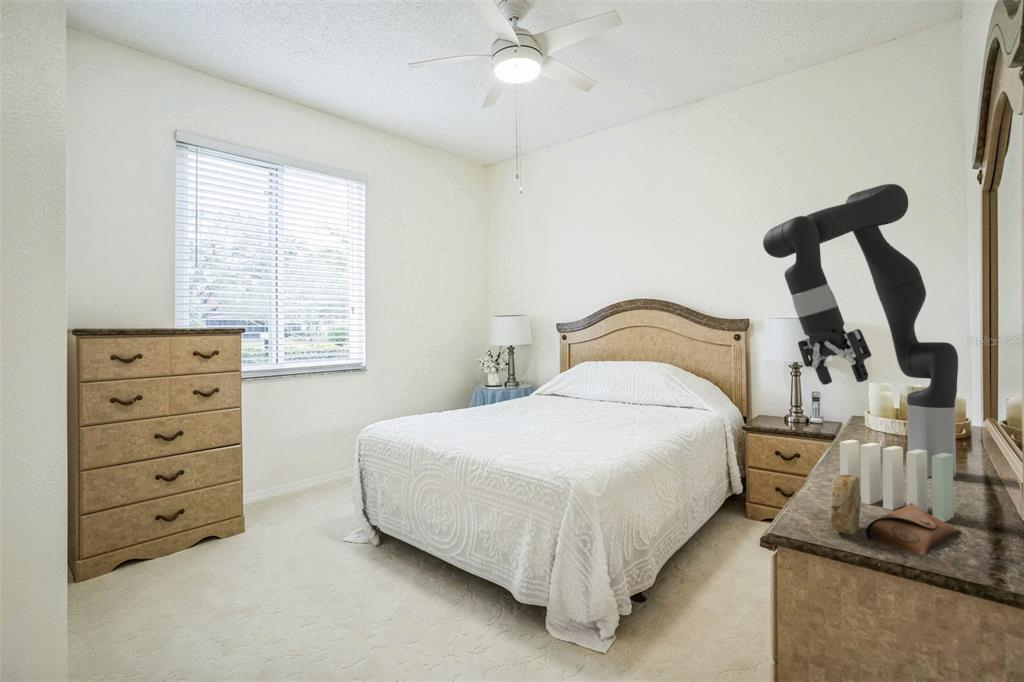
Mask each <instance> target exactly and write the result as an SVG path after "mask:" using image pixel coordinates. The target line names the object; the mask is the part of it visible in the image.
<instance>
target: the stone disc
mask: <svg viewBox="0 0 1024 682" xmlns="http://www.w3.org/2000/svg"><path fill="white" fill-rule="evenodd" d="M830 491H831V494H830V506H829V507H830V508H829V519H830V520H829V521H830V525H831V528H832V530H834V531H837V532H840V533H843V534H845V535H852V536H853V535H855V534H856V533H857V532H858V530H859V526H860V515H861V482H860V483H859V478H858V477H856V476H853V475H840V474H839V475H838V476H836V477H835V478H833V480H832V481H831V490H830Z"/></svg>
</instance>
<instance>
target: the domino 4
mask: <svg viewBox="0 0 1024 682" xmlns="http://www.w3.org/2000/svg"><path fill="white" fill-rule="evenodd" d="M905 453H906V454H905V456H906V459H905V461H906V468H905V469H906V506H908V505H909V504H911V503H913V504H914V505H916V506H917V507H918V508H919V509H920V510H922V511H924V512H926V513H928V512H927V511H929V507H928V505H929V501H928V500H929V499H928V498H929V495H928V494H929V493H928V490H929V489H928V476H927V451H926V450H919V449H916V450H913V451H909V452H908V451H907V452H905Z"/></svg>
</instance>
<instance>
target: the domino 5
mask: <svg viewBox="0 0 1024 682" xmlns="http://www.w3.org/2000/svg"><path fill="white" fill-rule="evenodd" d="M931 490H932V491H931V492H932V494H931V495H932V497H931V498H932V501H931V502H932V503H931V504H932V509H931V510H932V516H934V517H935V518H937V519H939V520H941V521H943V522H945V523H946V522H947V521H950V520H951V518H952V519H953V517H954V518H955V510H954V509H955V507H954V505H955V504H954V499H955V497H954V477H953V454H946V453H941V454H937V455H934V456H932V477H931Z"/></svg>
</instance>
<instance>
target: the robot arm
mask: <svg viewBox="0 0 1024 682" xmlns="http://www.w3.org/2000/svg"><path fill="white" fill-rule="evenodd" d="M908 209H909V197H908V193H907V192H906V190H905V188H904V187H902V186H901V185H899V184H897V183H888V184H886V183H885V184H881V185H877V186H875V187H870V188H867V189H864V190H863V189H862V190H860V191H857V192H854V193H852V194H850V195H849V196H848V197H847V199H846V202H845V203H844V204H843V203H842V204H839V205H834V206H830V207H827V208H823V209H820V210H818V211H815V212H811V213H809V214H807V215H798V216H795V217H793V218H790V219H788V220H787V221H785V222H783V223H780V224H778V225H776V226H773V227H772V228H770V229H769V230H768V231H767V232H766V234H765V235H764V237H763V239H762V244H763V245H762V246H763V248H764V251H765V252H766V253H767V254H768V255H769V256H771V257H773V258H777V259H782V258H786V257H789V256H793V255H794V254H795V262H794V264H793V265H792V266H789V267H788V268H787V269H786V270H785V271H784V278H785V283H786V284H787V287H788V290H789V292H790V295H791V298H792V303H793V307H794V310H795V312H796V315H797V317H798V320H799V323H800V326H801V328H802V331H803V334H804V336H807V337H808V338H806V339H805V338H804V339H802V340H799V341H798V342H797V346H798V348H799V350H800V355H801V357H802V361H803V363H804V364H803V365H804V366H805V367H806V368H809V367H811V368H812V369H814V370H815V372H816V375H817V378H818V380H819V382H820V383H821V384H822V385H829V384H832V382H833V379H832V377H831V373H830V371H829V368H828V366H826V362H827V359H828V357H831V356H833V357H836V356H839V357H840V358H841V359H845V360H846V361H847V362H848V363H850V364H851V365H850V367H851V370H852V371H853V375H854V377H855V380H856V382H857V383H862V382H863V383H864V382H866V381H867V380H868V379H869V372H868V370H867V368H866V365H865V360H867V359H868V358H871V357H872V352H871V351H870V349H869V346H868V344H867V342H866V339H865V336H864V335H863V332H862V330H861V329H859V328H856V329H854V330H852V331H848V332H847V331H845V329H844V326H845V321H844V319H843V318H844V317H843V316H842V313H841V310H840V307H839V305H838V303H837V300H836V297H835V295H834V292H833V291H832V289H831V288H830V285H829V284H828V283H829V282H828V280H827V277H826V275H825V272H824V270H823V266H822V260H821V259H822V258H821V256H822V255H821V254H822V253H821V244H823V243H826V242H829V241H831V240H834V239H836V238H839V237H842V236H843V235H846V234H849V233H853V235H854V237H855V239H856V241H857V243H858V245H859V247H860V250H861V252H862V254H863V256H864V258H865V261H866V264H867V267H868V269H869V272H870V275H871V278H872V281H873V284H874V287H875V290H876V294H877V295H878V298H879V301H880V303H881V306H882V309H883V312H884V314H885V317H886V321H887V324H888V326H889V330H890V333H891V338H892V339H891V340H892V342H893V346H894V352H895V357H896V360H897V364H898V367H899V369H900V370H901V372H902V374H904V375H905V376H906V377H909V378H913V379H930V382H929V385H928V386H927V387H925V388H923V389H921V390H917V391H912V392H909V393H908V394H907V397H906V398H907V399H906V403H907V404H906V406H907V409H906V410H907V411H906V413H907V452H909V451H913V450H916V449H919V450H926V451H927V477H931V478H932V456H934V455H937V454H941V453H946V454H953V478H956V477H957V471H956V470H957V467H956V465H957V463H956V462H957V459H956V457H957V455H956V453H957V452H956V451H957V450H956V448H957V447H956V445H957V444H956V398H957V393H958V375H959V356H958V351H957V349H956V347H955V346H954V345H953V344H952V343H949V342H944V341H943V342H942V341H941V342H940V341H938V342H937V341H935V342H932V341H930V342H928V341H927V342H926V341H924V342H922V341H921V342H920V341H919V340H918V338H917V335H916V331H915V325H916V321H917V317H918V316H919V314H920V312H921V310H922V308H923V306H924V303H925V301H926V297H927V289H926V286H925V284H924V280H923V277H922V275H921V271H920V270H919V268H918V266H917V265H916V264H915V263H914V262H913V261H912V260H911V259H909V257H907V256H906V255H904V254H903V253H902V252H900V251H899V250H898V249H896V248H895V247H894V246H892V245H891V244H890V243H889V242H888V241H887V239H886V238H885V237H884V235H883V233H882V231H881V229H880V226H885V225H889V224H893V223H895V222H898V221H900V220H901V219H902V218H903V217H904V216H905V215H906V213H907V211H908Z"/></svg>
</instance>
